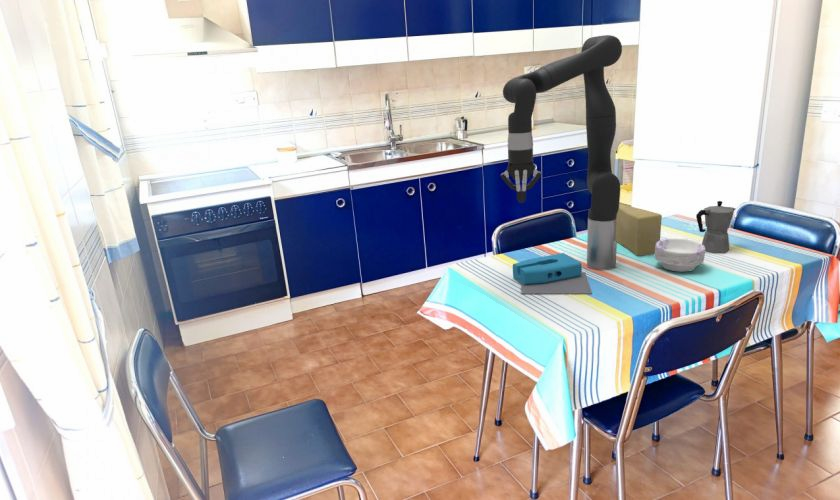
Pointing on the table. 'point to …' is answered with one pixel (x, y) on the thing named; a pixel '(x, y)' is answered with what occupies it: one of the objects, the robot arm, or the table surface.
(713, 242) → the coffeepot
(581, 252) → the table surface
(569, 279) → the mat
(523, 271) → the block
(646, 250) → the tan rectangular box
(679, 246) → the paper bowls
